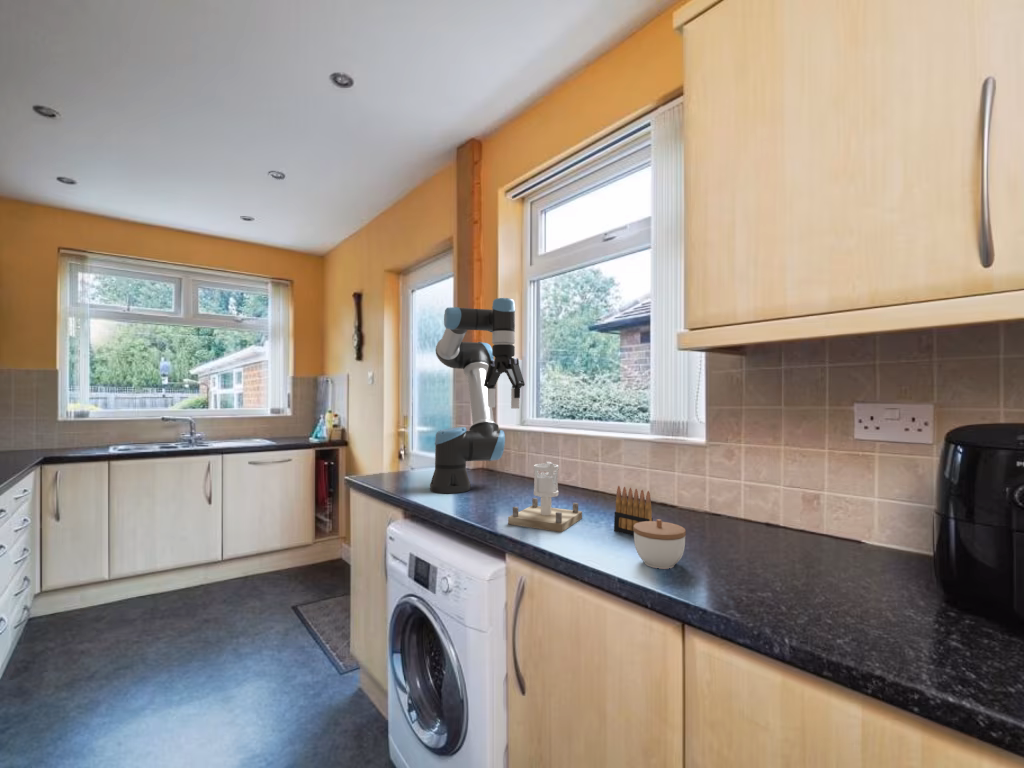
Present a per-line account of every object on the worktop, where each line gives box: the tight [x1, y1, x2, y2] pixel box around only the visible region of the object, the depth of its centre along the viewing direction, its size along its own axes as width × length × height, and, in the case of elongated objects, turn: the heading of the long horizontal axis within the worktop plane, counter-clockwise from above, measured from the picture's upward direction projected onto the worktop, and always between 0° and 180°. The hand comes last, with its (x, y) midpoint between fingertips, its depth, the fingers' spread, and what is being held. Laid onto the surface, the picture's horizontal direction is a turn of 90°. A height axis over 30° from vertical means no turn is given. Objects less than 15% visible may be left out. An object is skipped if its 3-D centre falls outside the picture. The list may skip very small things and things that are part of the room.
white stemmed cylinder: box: [533, 461, 559, 515], centre depth 135 cm, size 7×7×15 cm
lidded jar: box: [633, 518, 687, 570], centre depth 101 cm, size 11×11×9 cm
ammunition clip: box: [613, 485, 654, 537], centre depth 123 cm, size 11×2×12 cm, turn 43°
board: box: [507, 497, 583, 533], centre depth 135 cm, size 16×16×4 cm
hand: (503, 408), depth 158 cm, fingers open, 13 cm apart
